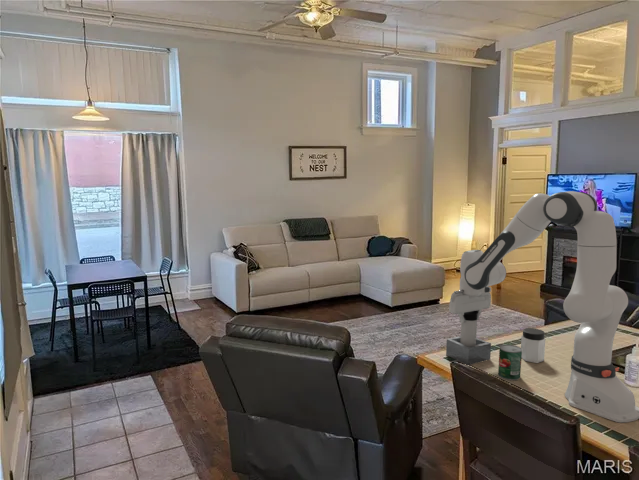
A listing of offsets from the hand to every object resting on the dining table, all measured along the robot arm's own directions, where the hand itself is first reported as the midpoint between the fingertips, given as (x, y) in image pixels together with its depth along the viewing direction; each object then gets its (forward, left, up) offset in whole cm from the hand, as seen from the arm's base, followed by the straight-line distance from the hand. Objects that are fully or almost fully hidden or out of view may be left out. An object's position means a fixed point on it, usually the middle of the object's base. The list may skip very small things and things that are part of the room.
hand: (469, 321), depth 194 cm
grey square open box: (0, 0, -16) cm, 16 cm away
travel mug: (0, 0, -16) cm, 16 cm away
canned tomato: (-21, 0, -16) cm, 26 cm away
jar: (-14, -22, -16) cm, 30 cm away
